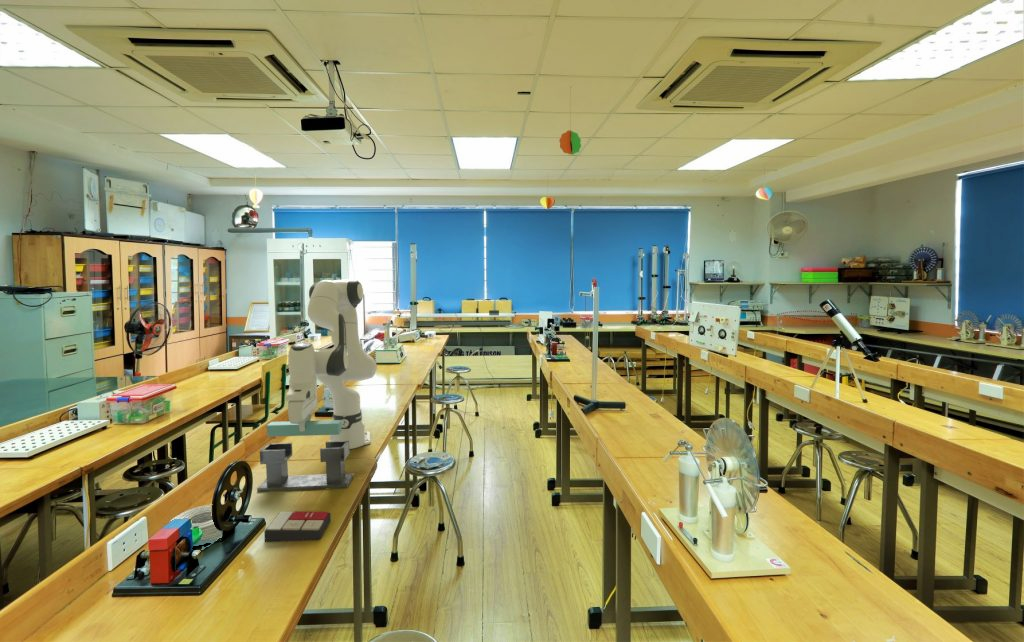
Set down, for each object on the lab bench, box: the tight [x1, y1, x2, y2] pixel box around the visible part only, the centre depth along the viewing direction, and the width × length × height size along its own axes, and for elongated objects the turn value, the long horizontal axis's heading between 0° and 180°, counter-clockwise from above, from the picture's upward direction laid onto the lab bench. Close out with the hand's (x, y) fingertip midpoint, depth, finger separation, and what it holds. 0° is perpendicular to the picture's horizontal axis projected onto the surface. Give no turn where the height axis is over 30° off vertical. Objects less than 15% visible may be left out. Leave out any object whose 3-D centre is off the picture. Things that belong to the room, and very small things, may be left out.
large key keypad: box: [264, 510, 332, 543], centre depth 143 cm, size 11×4×15 cm
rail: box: [266, 419, 342, 438], centre depth 174 cm, size 4×24×4 cm, turn 96°
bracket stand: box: [256, 440, 355, 492], centre depth 175 cm, size 10×30×14 cm, turn 96°
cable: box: [170, 504, 221, 541], centre depth 141 cm, size 18×18×6 cm
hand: (305, 428), depth 174 cm, fingers closed on rail, 4 cm apart
